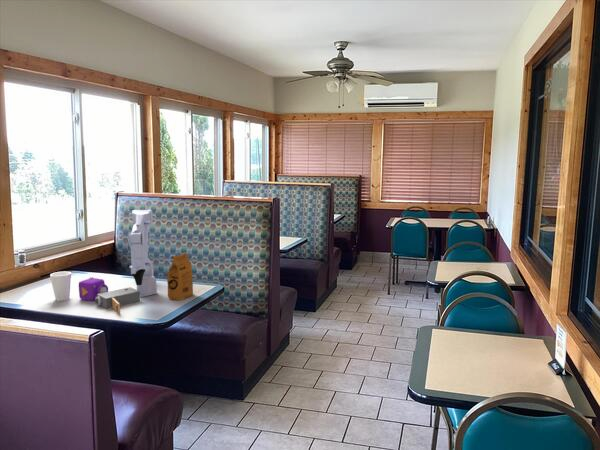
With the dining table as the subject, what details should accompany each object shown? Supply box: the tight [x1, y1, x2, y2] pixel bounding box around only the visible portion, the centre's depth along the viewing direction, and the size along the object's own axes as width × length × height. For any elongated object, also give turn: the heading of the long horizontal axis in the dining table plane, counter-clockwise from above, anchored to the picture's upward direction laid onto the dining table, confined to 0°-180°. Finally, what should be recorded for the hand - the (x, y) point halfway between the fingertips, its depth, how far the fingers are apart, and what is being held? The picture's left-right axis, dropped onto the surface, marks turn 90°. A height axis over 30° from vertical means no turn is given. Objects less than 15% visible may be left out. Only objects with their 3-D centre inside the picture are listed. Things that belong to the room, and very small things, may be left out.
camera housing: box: [94, 286, 141, 310], centre depth 249 cm, size 19×10×6 cm, turn 134°
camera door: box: [112, 298, 121, 314], centre depth 237 cm, size 11×1×4 cm, turn 34°
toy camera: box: [78, 276, 109, 302], centre depth 256 cm, size 11×14×10 cm
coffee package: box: [166, 252, 194, 301], centre depth 257 cm, size 10×12×22 cm
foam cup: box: [49, 270, 72, 302], centre depth 255 cm, size 10×9×13 cm
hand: (139, 284), depth 246 cm, fingers closed
